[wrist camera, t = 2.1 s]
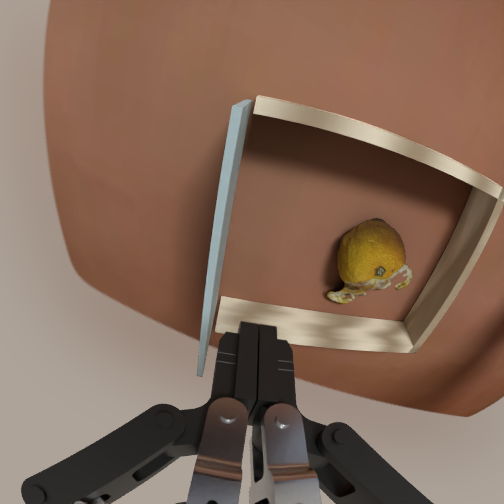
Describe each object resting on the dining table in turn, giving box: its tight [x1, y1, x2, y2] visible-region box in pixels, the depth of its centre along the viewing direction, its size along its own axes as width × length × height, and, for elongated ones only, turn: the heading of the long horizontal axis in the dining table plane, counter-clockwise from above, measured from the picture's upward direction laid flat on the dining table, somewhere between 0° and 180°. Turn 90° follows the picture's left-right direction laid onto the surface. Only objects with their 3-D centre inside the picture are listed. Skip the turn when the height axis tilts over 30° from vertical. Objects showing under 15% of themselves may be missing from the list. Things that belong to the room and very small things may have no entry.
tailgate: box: [197, 99, 252, 377], centre depth 18 cm, size 1×17×8 cm, turn 168°
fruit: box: [327, 218, 412, 304], centre depth 22 cm, size 8×8×4 cm
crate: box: [215, 95, 504, 353], centre depth 21 cm, size 20×18×4 cm
